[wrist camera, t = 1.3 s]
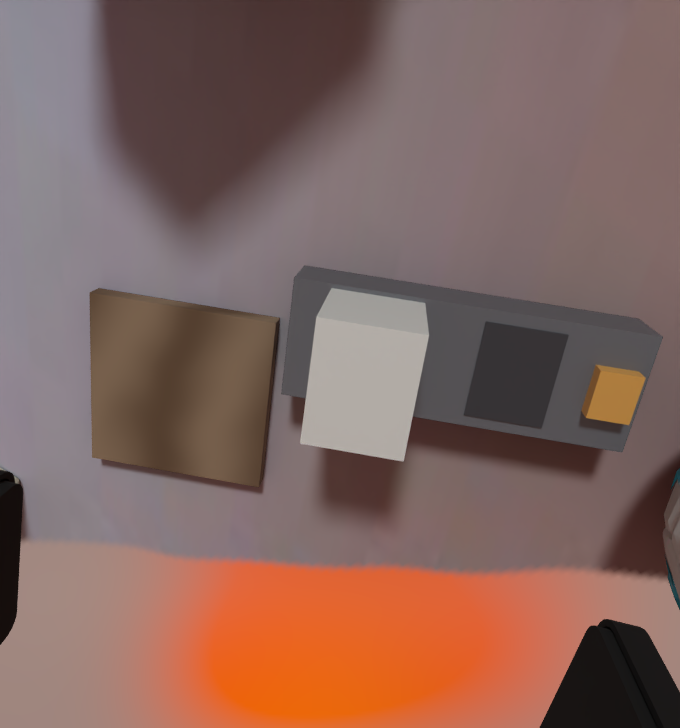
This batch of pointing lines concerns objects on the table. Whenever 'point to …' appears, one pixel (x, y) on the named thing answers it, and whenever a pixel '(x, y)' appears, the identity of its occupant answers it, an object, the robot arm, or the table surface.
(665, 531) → the puzzle ball
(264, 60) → the table surface
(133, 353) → the pad
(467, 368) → the power strip
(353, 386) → the block
